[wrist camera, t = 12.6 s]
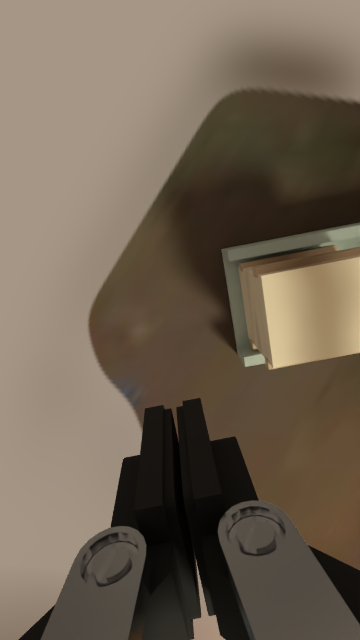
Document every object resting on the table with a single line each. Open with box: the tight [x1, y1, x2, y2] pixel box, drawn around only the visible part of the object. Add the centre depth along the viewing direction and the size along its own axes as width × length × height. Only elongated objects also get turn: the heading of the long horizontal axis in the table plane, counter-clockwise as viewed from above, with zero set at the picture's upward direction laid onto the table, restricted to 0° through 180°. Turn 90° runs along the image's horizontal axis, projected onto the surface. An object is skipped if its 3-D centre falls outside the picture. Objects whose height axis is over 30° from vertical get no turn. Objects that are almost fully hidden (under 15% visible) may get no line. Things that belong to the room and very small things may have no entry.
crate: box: [238, 245, 360, 370], centre depth 25 cm, size 7×7×7 cm
